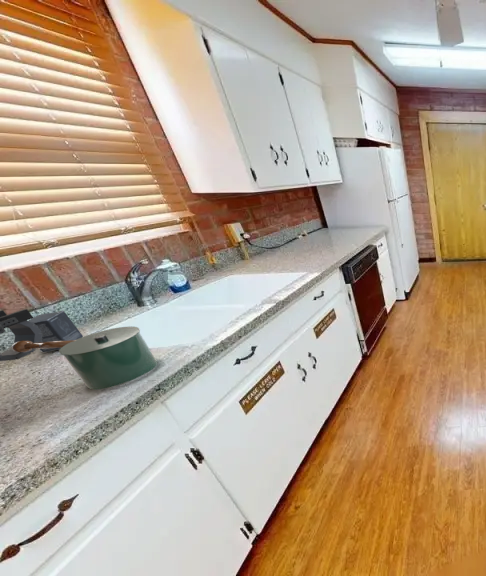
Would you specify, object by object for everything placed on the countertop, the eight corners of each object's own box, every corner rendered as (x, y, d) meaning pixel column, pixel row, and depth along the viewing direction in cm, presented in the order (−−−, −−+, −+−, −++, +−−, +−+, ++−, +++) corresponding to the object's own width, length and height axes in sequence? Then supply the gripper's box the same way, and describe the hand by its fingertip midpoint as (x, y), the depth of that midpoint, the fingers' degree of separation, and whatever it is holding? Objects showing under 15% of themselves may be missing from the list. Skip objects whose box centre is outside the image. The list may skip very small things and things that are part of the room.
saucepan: (9, 398, 77) (-28, 356, 71) (73, 364, 89) (45, 327, 84) (126, 389, 80) (99, 349, 75) (173, 358, 92) (152, 322, 87)
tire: (-6, 369, 74) (-38, 332, 70) (-28, 371, 74) (-63, 334, 69) (51, 344, 84) (26, 311, 80) (32, 345, 84) (5, 312, 79)
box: (58, 341, 100) (37, 314, 96) (84, 336, 103) (64, 310, 99) (41, 353, 94) (18, 324, 90) (69, 347, 97) (47, 319, 92)
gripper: (-186, 388, 59) (-12, 327, 80) (-80, 381, 61) (63, 324, 82) (-224, 357, 56) (-33, 303, 77) (-111, 351, 58) (46, 300, 79)
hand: (16, 314), depth 80 cm, fingers closed on tire, 5 cm apart
